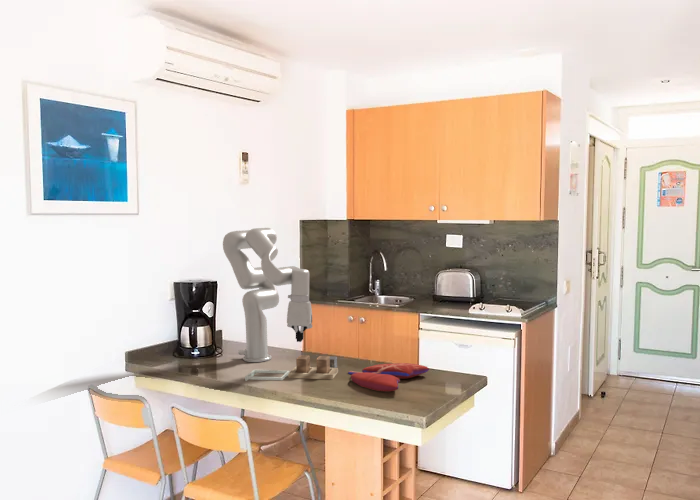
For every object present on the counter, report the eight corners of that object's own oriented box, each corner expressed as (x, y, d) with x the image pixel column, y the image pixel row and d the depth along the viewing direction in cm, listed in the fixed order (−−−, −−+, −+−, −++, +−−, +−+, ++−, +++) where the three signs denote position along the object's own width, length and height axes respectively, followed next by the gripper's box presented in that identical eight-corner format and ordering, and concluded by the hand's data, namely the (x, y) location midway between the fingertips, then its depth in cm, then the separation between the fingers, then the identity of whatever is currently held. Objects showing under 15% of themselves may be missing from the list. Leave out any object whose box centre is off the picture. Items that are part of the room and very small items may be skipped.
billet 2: (317, 376, 240) (316, 359, 240) (320, 372, 246) (319, 355, 246) (326, 377, 239) (326, 359, 239) (330, 373, 245) (329, 355, 245)
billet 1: (296, 376, 242) (296, 358, 241) (300, 372, 248) (300, 355, 247) (306, 376, 241) (305, 359, 241) (310, 372, 247) (309, 355, 246)
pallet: (288, 380, 240) (288, 373, 240) (295, 373, 251) (295, 366, 251) (332, 382, 237) (332, 375, 236) (338, 374, 247) (338, 367, 247)
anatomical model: (430, 381, 242) (365, 375, 258) (430, 363, 242) (365, 358, 258) (396, 395, 216) (326, 388, 232) (396, 375, 216) (326, 369, 232)
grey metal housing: (320, 372, 251) (320, 359, 250) (323, 369, 256) (322, 356, 255) (334, 372, 250) (334, 359, 249) (337, 369, 255) (336, 356, 254)
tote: (245, 382, 240) (244, 376, 239) (254, 375, 250) (253, 369, 249) (282, 383, 237) (282, 377, 237) (289, 376, 247) (289, 370, 247)
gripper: (280, 299, 252) (279, 342, 254) (315, 301, 249) (314, 344, 252) (285, 295, 260) (285, 337, 262) (319, 297, 257) (318, 340, 259)
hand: (299, 341), depth 257 cm, fingers closed
